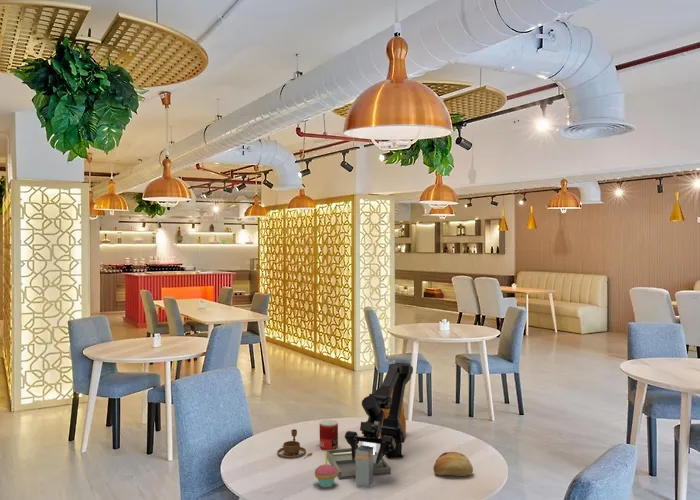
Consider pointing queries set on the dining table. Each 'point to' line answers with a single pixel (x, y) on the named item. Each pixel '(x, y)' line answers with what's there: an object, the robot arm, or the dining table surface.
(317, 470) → the cupcake
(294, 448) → the place setting
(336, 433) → the canned food
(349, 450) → the case
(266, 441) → the dining table surface
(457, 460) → the bread roll
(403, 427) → the coffee package
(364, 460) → the block
